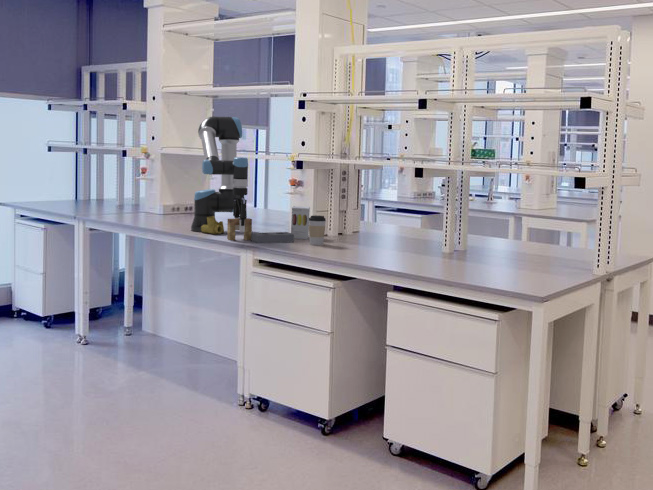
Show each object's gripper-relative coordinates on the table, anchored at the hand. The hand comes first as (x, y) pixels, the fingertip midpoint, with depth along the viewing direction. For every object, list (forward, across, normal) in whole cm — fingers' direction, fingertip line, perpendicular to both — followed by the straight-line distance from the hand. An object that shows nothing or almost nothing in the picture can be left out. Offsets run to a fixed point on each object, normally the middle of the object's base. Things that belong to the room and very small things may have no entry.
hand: (239, 231), depth 381 cm
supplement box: (+5, -1, +35) cm, 35 cm away
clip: (+5, 0, 0) cm, 5 cm away
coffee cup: (+5, +25, +33) cm, 42 cm away
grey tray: (+5, +9, +15) cm, 18 cm away
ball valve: (+5, -28, -5) cm, 29 cm away
